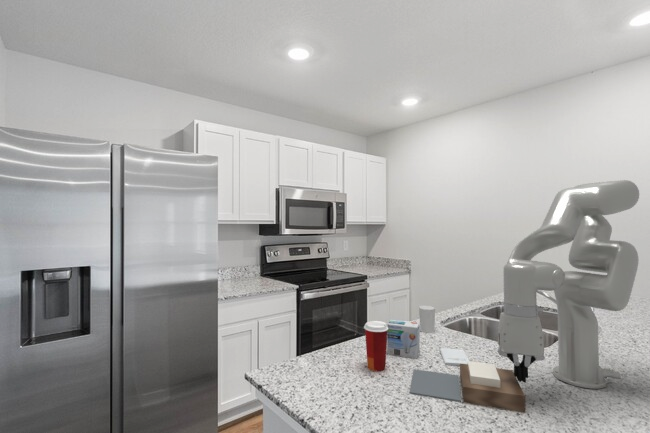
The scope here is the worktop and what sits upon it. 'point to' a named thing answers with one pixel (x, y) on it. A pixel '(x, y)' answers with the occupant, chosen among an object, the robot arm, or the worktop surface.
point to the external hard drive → (454, 356)
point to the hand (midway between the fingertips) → (521, 379)
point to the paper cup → (376, 345)
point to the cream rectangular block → (483, 374)
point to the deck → (493, 391)
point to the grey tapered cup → (427, 319)
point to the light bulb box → (403, 338)
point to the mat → (435, 385)
